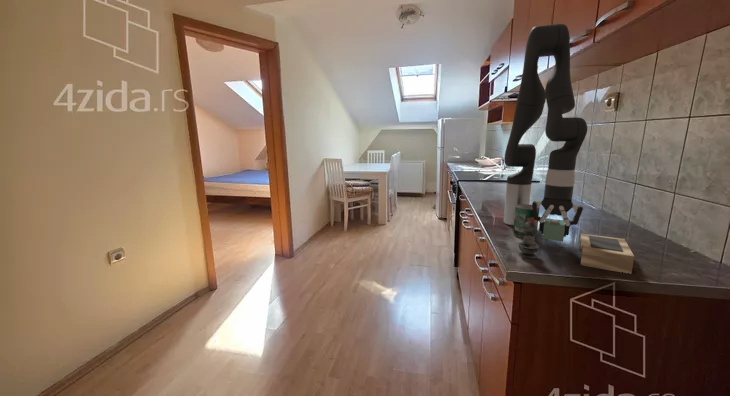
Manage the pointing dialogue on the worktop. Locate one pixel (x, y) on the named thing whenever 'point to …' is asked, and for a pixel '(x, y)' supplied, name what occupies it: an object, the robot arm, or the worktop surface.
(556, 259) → the worktop surface
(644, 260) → the worktop surface
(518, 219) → the canned tomato
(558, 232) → the housing
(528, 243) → the grey chess piece
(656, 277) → the worktop surface
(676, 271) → the worktop surface
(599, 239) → the stand
